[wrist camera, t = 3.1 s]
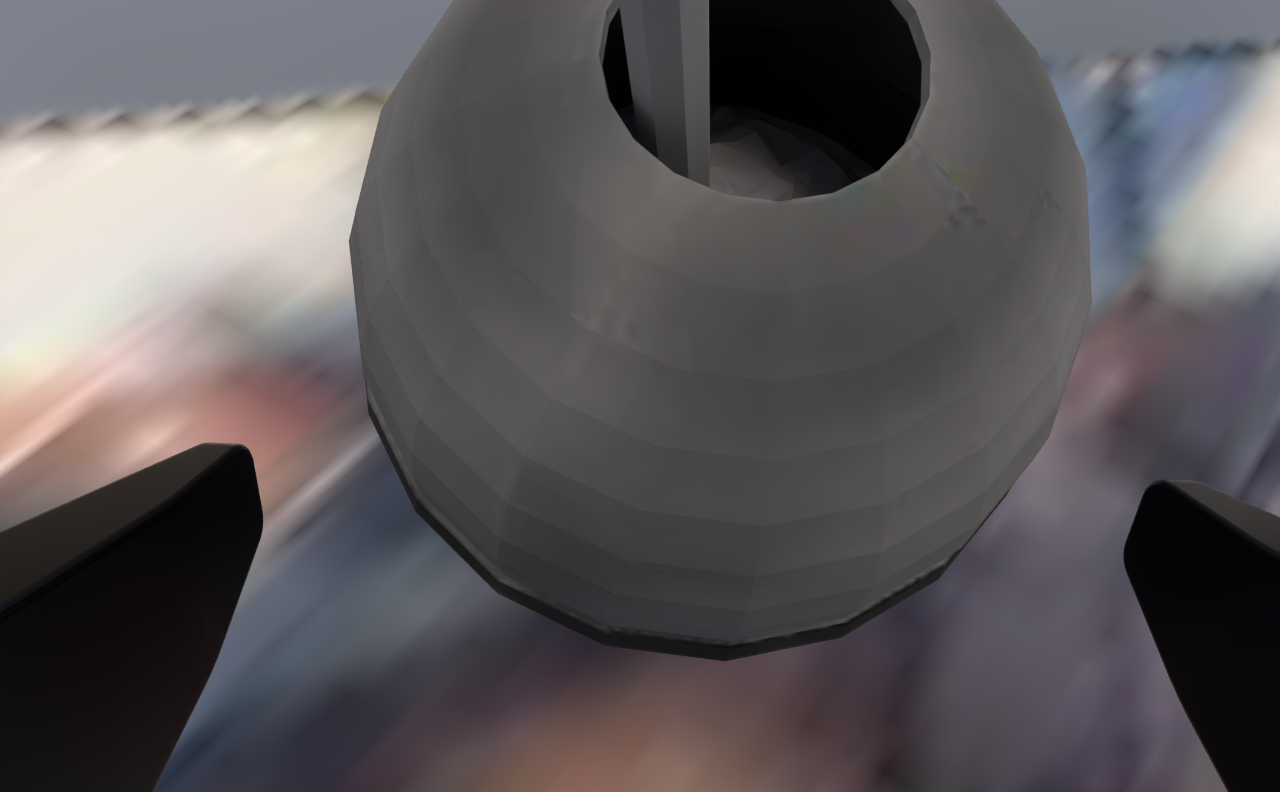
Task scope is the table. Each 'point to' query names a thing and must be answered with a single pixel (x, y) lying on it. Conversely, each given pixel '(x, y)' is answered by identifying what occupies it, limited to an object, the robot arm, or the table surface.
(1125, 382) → the table surface
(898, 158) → the beverage cup
